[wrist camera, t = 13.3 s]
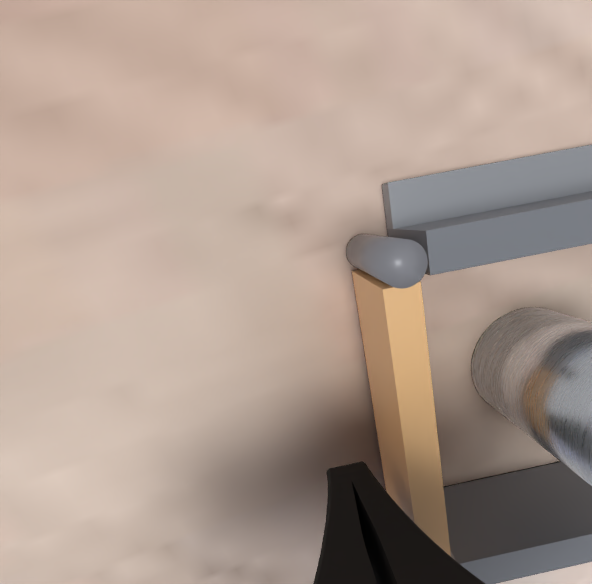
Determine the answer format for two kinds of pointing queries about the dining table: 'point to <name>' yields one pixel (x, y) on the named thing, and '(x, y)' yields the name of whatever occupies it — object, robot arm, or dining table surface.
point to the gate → (400, 375)
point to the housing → (484, 250)
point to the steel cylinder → (541, 380)
